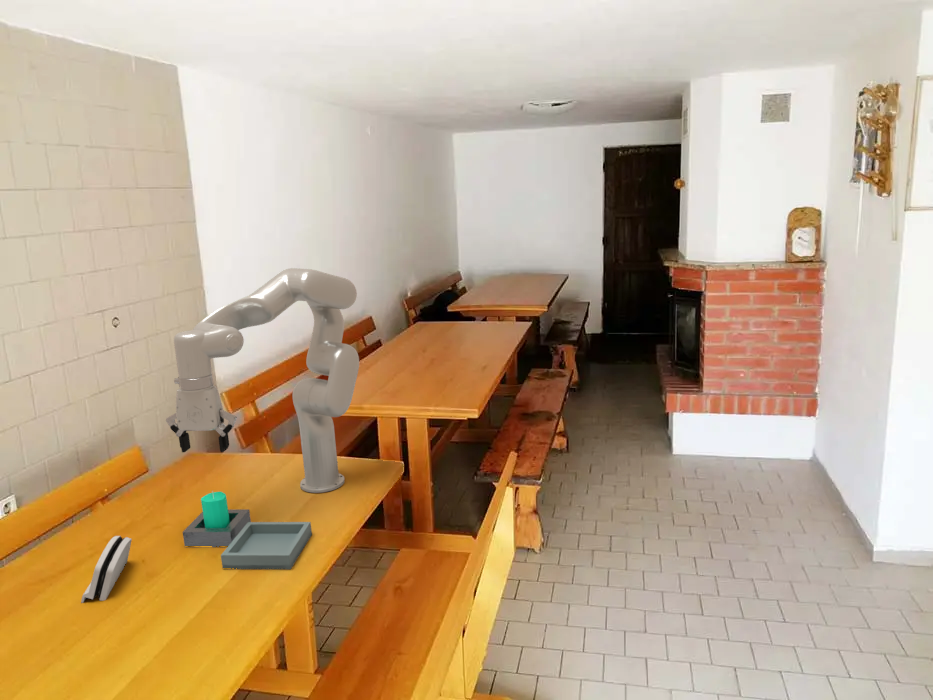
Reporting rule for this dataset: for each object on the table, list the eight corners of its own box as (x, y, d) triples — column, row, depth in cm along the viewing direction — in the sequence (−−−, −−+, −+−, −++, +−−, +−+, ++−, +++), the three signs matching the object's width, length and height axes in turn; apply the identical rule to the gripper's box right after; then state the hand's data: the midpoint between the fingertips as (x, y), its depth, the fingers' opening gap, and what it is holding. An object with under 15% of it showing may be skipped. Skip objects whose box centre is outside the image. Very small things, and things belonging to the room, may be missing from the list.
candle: (212, 543, 175) (205, 498, 172) (202, 535, 179) (195, 491, 177) (235, 534, 179) (229, 490, 176) (225, 527, 183) (219, 483, 180)
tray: (249, 534, 178) (247, 522, 178) (311, 534, 177) (310, 521, 176) (222, 569, 163) (220, 555, 162) (290, 569, 161) (289, 555, 161)
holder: (206, 523, 186) (204, 509, 185) (251, 523, 184) (249, 509, 183) (184, 547, 174) (182, 532, 173) (232, 547, 173) (230, 532, 172)
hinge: (104, 563, 168) (113, 525, 166) (126, 567, 169) (134, 529, 167) (80, 603, 152) (89, 561, 150) (103, 607, 153) (113, 565, 151)
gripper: (153, 387, 167) (163, 456, 171) (224, 386, 165) (233, 455, 169) (169, 378, 174) (178, 445, 178) (237, 377, 173) (245, 444, 176)
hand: (205, 450), depth 174 cm, fingers open, 9 cm apart
